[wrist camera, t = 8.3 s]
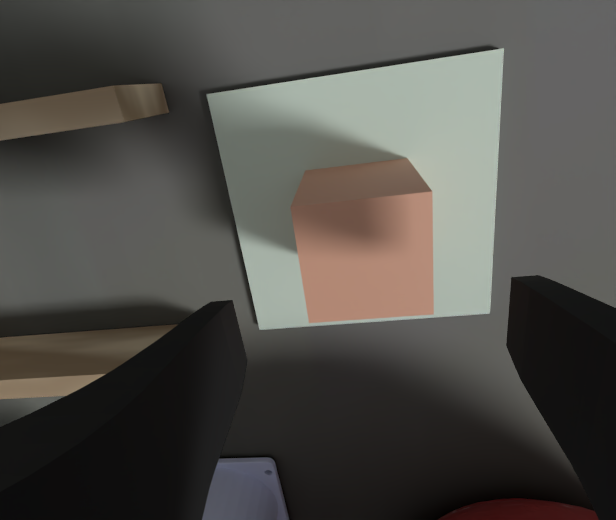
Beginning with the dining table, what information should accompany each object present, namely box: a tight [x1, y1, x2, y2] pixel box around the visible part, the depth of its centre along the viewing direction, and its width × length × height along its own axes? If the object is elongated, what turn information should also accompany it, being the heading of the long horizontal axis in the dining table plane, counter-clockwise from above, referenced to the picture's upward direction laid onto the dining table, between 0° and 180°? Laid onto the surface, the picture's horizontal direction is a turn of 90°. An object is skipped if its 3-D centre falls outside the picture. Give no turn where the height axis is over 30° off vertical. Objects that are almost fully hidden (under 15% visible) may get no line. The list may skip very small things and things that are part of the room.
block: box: [290, 158, 434, 323], centre depth 16 cm, size 4×4×6 cm
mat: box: [207, 48, 504, 330], centre depth 19 cm, size 12×12×1 cm
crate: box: [0, 83, 178, 399], centre depth 19 cm, size 13×18×4 cm
